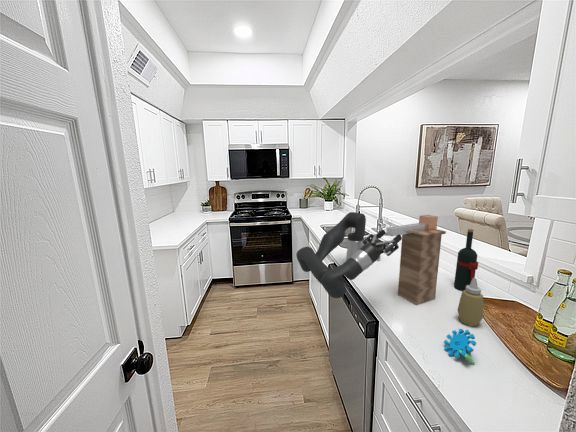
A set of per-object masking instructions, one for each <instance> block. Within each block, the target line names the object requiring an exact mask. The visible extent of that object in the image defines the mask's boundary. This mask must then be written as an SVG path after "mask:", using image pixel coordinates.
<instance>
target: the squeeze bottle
mask: <svg viewBox="0 0 576 432" xmlns="http://www.w3.org/2000/svg"><path fill="white" fill-rule="evenodd" d="M481 292H482V288H480V287H479V286H478V280H477V278H476V277H475V278H473V279H472V281H471V283H470V285H467V286H466V289H465V290H464V291H461V295H460V299H459V302H458V306H457V309H456V310H457V314H458V317H459V321H460V322H461V323H463V324H464V325H467V326H470V327H478V326H479V324H480V323H481V321H482V320H483V319H484V295H483V294H482V293H481Z"/></svg>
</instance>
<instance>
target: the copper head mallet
mask: <svg viewBox="0 0 576 432" xmlns="http://www.w3.org/2000/svg"><path fill="white" fill-rule="evenodd" d="M438 218H439V217H438V216H436V215H431V214H422V215H421V214H420V215H419V219H418V222H416V223H409V224H404V225H395V226H390V227H389V226H387V227H386V231H385V235H387V236H388V237H396V236H397V235H398V234H400V235H401V236H402V235H403V234H410V233H416V232H422V231H433V230H437V229H438V227H437V226H438Z"/></svg>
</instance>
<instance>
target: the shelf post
mask: <svg viewBox="0 0 576 432" xmlns="http://www.w3.org/2000/svg"><path fill="white" fill-rule="evenodd" d="M445 234H447V232H446V231H445V230H443V229H442V230H441V229H438V228H437V230H433V231H422V232H416V233H410V234H403V235H401V237H402V239H401V247H400V258H399V260H400V261H399V273H398V288H397V296H399V297H400V298H402V299H404V300H406V301H407V302H409V303H411V304H413V305H414V306H419V305H421V304H425V303H428V302H431V301H435V299H436V291H437V283H438V282H437V280H438V273H439V263H440V255H441V254H440V253H441V244H442V243H441V242H442V235H445Z"/></svg>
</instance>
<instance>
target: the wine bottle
mask: <svg viewBox="0 0 576 432" xmlns="http://www.w3.org/2000/svg"><path fill="white" fill-rule="evenodd" d="M474 231H475V230H474V229H472V228H468V229H467V231H466V233H467V235H466V241H465V242H466V243H465V247H463V248H461V249H460V250H459V251H458V253H457V258H456V266H455V273H454V274H455V275H454V283H453V288H454V289H456V290H458V291H460V292H462V291H464V290H465V289H466V286H467V285H470V283H471V281H472V279H473V278H476V277H475V276H476V270H478V269H479V262H478V261H477V260H478V253H477V252H476V251H475V250H474V249H473V248H472V245H473V237H474Z"/></svg>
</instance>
